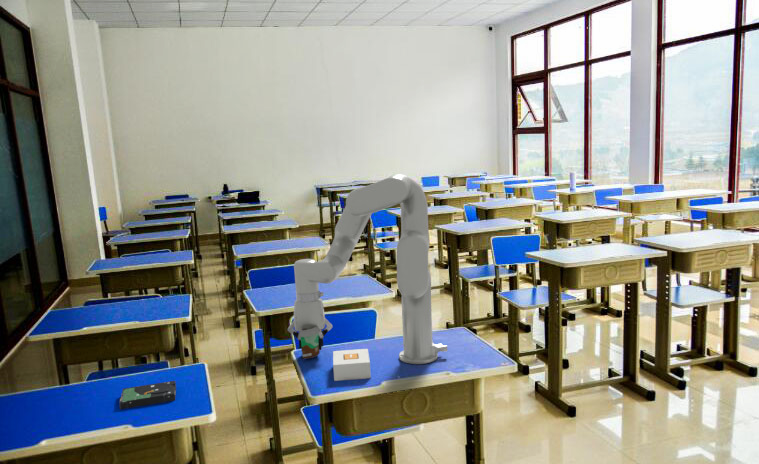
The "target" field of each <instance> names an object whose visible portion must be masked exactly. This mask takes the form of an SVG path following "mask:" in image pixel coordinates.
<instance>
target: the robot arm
mask: <svg viewBox="0 0 759 464" xmlns="http://www.w3.org/2000/svg"><path fill="white" fill-rule="evenodd" d="M427 202H428V201H427V197H426V193H425V191H424V189H423V188H422V187H421V185H420V184H419V183H418V182H417V181H416V180H414V178H411V177H410V176H408V175H405V174H401V173H395V174H393V175H390V176H389V177H386V178H383V179H382V180H378V181H375V182H373V183H371V184H368V185H365V186H359V187H357V188H355V189H353V190H351V191H350V192H349V193H348V194H347V196H346V199H345V207H344V209H343V211H342V213H341V214H340V217H339V219H338V221H337V223H336V224H335V227H334V238H333V241H332V243H331V244H330V247H329V250H328V251H327V253H326V255H325V257H324V258H323V259H322V260H320V261H316V260H315V259H313V258H302V259H301V258H300V259H299V260H296V261H295V262H294V264H293V269H294V270H293V271H294V283H295V298H296V300H294V304H293V321H292V322H291V324H290V325H289V326H288V328H287V332H288V333H290V334H292V335H293V336H294V337H295V338H297V341H298V345H299V349H301V350H300V351H302V346H301V337H300V330H302V329H312V328H315V327H317V326H318V328H319V330H321V331H320V332H319V350H320V351H322V347H324V337H325V336H326V335H327V333H328V332H329V331H331V330H332V328H333V324H332V323H331V322H330V321H329V320H328V319H327V318H326V316H325V307H324V303H323V299H322V298H321V297H324V291H320V289H319V287H320V286H319V284H331V283H333V282H335V281H336V280H337V279H338V277H340V275H341V274H342V273H343V271H344V270H345V268H346V266H347V264H348V262H349V260H350V258H351V255H352V254H353V251H354V250H355V247H357V246H356V245H357V244H358V242H359V240H360V238H361V236H362V234H363V232H364V229H365V228H366V226H367V224H368V221H369V220H370V219H371V216H372V214H374V213H378V212H379V211H382V210H385V209H388V208H392V207H394V206H396V205H400V212H401V213H400V223H401V225H400V227H401V231H400V238H399V240H398V242H397V245H396V287H397V288H398V291H399V292H400V294H401V320H402V340H403V341H402V342H403V350H402V351H400V352H399V354H398V359H399V360H400V361H401V362H402V363H406V364H410V365H424V364H429V363H432V362H435V361H436V360H438V357H439V354H438V353H440V352H443V353H444V352H448V345H443V344H442V343H438V344H436V343H434V341H433V320H432V319H433V318H432V275H431V272H430V269H429V250H430V238H429V214H428V212H429V211H428V203H427Z"/></svg>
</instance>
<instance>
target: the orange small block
mask: <svg viewBox="0 0 759 464" xmlns="http://www.w3.org/2000/svg"><path fill="white" fill-rule="evenodd" d="M344 356H345V360H347V359H358V356H357V354H345V355H344Z"/></svg>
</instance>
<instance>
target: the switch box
mask: <svg viewBox="0 0 759 464" xmlns="http://www.w3.org/2000/svg"><path fill="white" fill-rule="evenodd" d="M345 354H357V356H358V359H347V360H345V356H344V355H345ZM332 359H333V360H332V362H333V364H332V365H333V380H334V382H337V381H338V382H339V381H350V380H351V381H352V380H363V379H371V377H372V374H371V361H370V353H369V349H368V348H360V349H359V348H358V349H357V348H356V349H345V350H343V349H342V350H335V351H334V350H333V351H332Z"/></svg>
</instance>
